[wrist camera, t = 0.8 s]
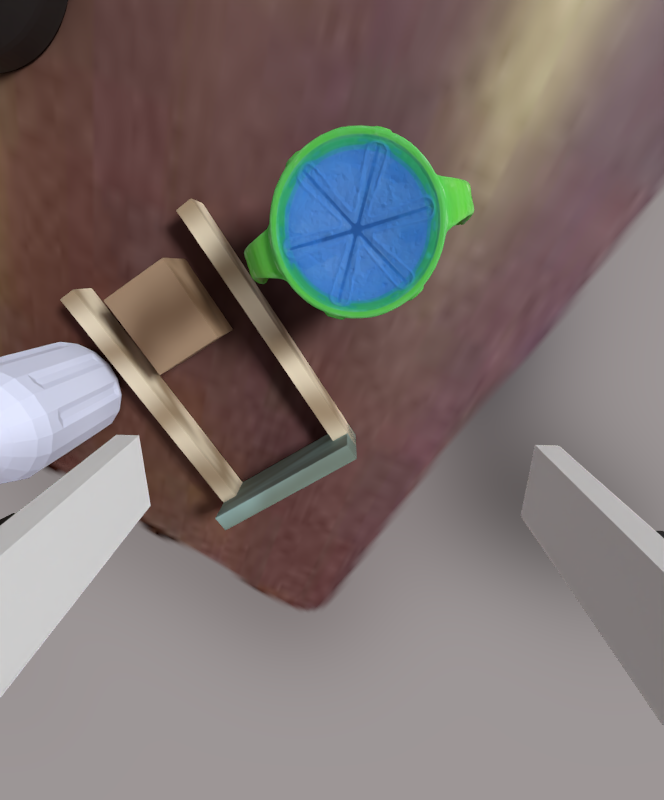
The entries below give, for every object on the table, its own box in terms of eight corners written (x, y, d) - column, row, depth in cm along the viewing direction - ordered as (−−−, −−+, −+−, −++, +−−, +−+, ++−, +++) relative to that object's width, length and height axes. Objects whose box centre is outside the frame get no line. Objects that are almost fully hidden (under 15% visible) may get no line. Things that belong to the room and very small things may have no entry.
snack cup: (445, 149, 31) (489, 95, 21) (454, 289, 34) (496, 298, 24) (248, 187, 32) (205, 152, 22) (275, 318, 35) (248, 337, 26)
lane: (79, 297, 35) (37, 302, 31) (202, 203, 33) (177, 192, 28) (239, 500, 41) (225, 530, 37) (355, 435, 38) (356, 458, 34)
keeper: (133, 296, 35) (103, 300, 31) (185, 258, 34) (162, 257, 30) (181, 362, 37) (159, 375, 33) (233, 329, 36) (217, 337, 32)
